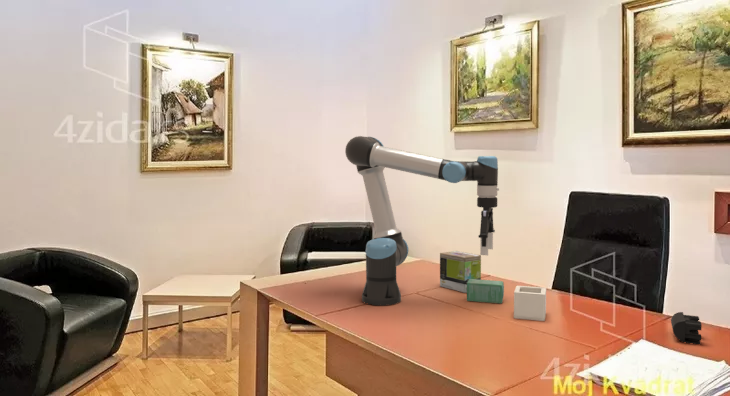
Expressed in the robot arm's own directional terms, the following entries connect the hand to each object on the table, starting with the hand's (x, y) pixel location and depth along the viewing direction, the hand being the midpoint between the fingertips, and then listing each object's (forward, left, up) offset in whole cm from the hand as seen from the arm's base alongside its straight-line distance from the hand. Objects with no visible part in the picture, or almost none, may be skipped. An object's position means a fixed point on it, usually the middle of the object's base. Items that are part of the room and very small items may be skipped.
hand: (486, 252), depth 202 cm
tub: (+17, -16, -18) cm, 30 cm away
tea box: (-13, +15, -19) cm, 27 cm away
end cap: (+62, -25, -19) cm, 70 cm away
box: (0, -1, -19) cm, 19 cm away
